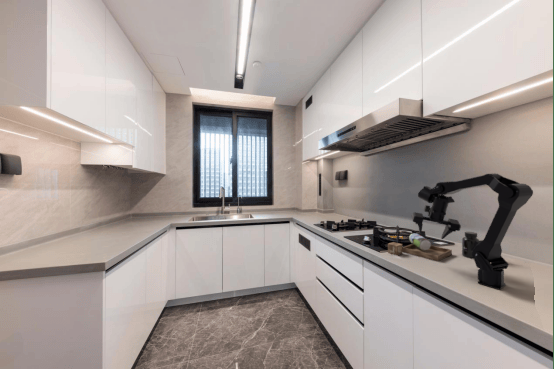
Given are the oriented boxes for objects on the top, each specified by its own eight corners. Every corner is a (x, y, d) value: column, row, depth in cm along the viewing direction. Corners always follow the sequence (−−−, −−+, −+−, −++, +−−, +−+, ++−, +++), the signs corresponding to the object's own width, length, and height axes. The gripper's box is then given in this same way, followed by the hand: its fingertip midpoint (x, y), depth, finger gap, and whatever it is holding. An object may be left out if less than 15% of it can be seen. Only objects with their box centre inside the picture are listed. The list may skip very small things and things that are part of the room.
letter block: (402, 253, 125) (402, 244, 125) (397, 255, 123) (396, 246, 122) (393, 251, 130) (393, 242, 129) (387, 253, 127) (387, 243, 127)
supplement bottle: (460, 256, 119) (460, 232, 118) (464, 253, 123) (464, 230, 122) (477, 259, 113) (477, 235, 113) (481, 256, 117) (481, 232, 117)
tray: (451, 254, 121) (451, 249, 121) (437, 261, 113) (437, 256, 113) (417, 246, 136) (417, 242, 135) (402, 252, 127) (402, 247, 127)
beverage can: (425, 239, 121) (413, 228, 133) (416, 250, 123) (405, 238, 135) (435, 244, 122) (422, 233, 133) (426, 255, 124) (414, 243, 135)
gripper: (459, 204, 112) (450, 232, 118) (414, 197, 119) (408, 224, 125) (465, 214, 102) (455, 244, 108) (416, 206, 109) (409, 235, 115)
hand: (430, 236), depth 114 cm, fingers open, 9 cm apart
